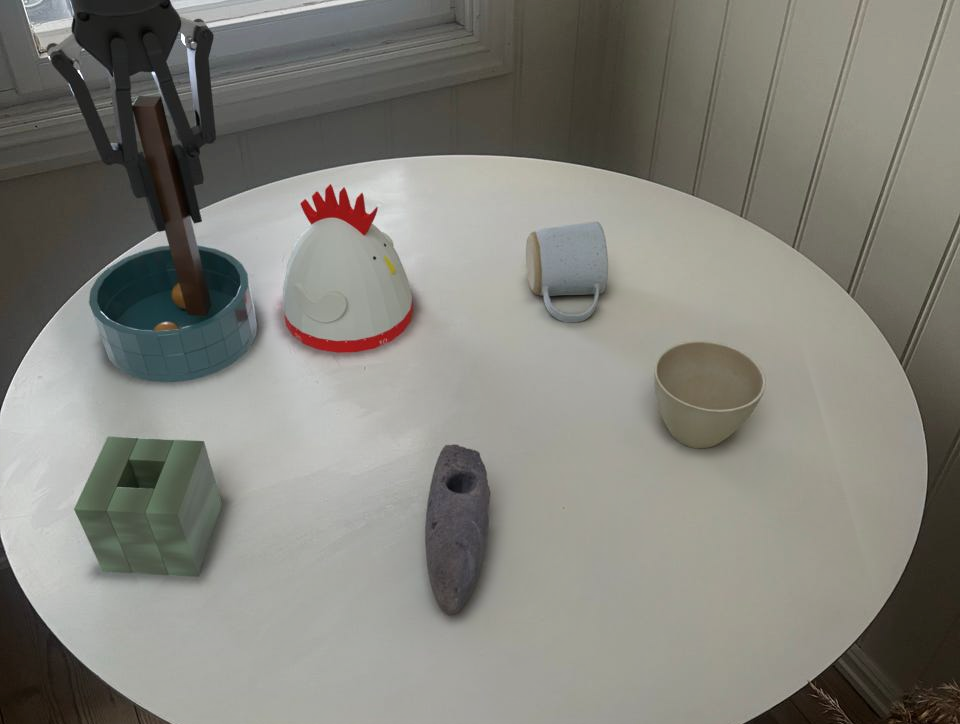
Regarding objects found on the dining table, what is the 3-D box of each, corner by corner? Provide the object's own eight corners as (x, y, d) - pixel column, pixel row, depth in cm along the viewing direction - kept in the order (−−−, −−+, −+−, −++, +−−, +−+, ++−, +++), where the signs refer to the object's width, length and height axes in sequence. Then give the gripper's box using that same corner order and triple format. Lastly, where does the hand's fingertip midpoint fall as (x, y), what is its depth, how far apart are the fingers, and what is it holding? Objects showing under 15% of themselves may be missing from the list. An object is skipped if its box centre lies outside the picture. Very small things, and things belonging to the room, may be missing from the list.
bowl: (84, 379, 93) (65, 331, 88) (132, 288, 103) (118, 241, 99) (238, 386, 92) (227, 339, 88) (270, 294, 103) (262, 247, 98)
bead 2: (171, 314, 98) (165, 291, 96) (179, 298, 100) (173, 274, 98) (199, 316, 98) (193, 292, 96) (206, 299, 100) (201, 276, 98)
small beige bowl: (753, 408, 91) (771, 351, 86) (741, 478, 85) (760, 421, 80) (653, 386, 93) (664, 330, 88) (634, 453, 87) (645, 396, 81)
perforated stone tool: (479, 634, 73) (480, 581, 68) (412, 629, 73) (409, 575, 68) (493, 494, 83) (495, 438, 78) (435, 489, 83) (433, 434, 78)
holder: (103, 572, 76) (73, 509, 70) (133, 500, 82) (107, 436, 76) (199, 577, 76) (177, 514, 70) (222, 505, 82) (204, 440, 76)
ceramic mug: (521, 271, 107) (525, 213, 101) (590, 266, 107) (598, 208, 102) (538, 329, 100) (543, 270, 94) (612, 323, 100) (621, 264, 95)
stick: (187, 315, 95) (131, 106, 79) (192, 303, 96) (138, 95, 80) (206, 316, 95) (154, 106, 79) (211, 304, 96) (161, 96, 80)
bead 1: (152, 356, 94) (145, 333, 91) (160, 338, 96) (153, 314, 93) (181, 358, 94) (175, 334, 91) (189, 339, 96) (183, 316, 93)
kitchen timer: (379, 366, 95) (369, 239, 84) (261, 335, 98) (236, 208, 87) (431, 291, 104) (428, 167, 93) (321, 265, 107) (305, 142, 96)
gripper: (5, -22, 66) (100, 260, 83) (222, -52, 71) (268, 219, 88) (-9, -54, 70) (83, 220, 87) (195, -81, 75) (245, 183, 92)
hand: (176, 219), depth 88 cm, fingers closed on stick, 3 cm apart
